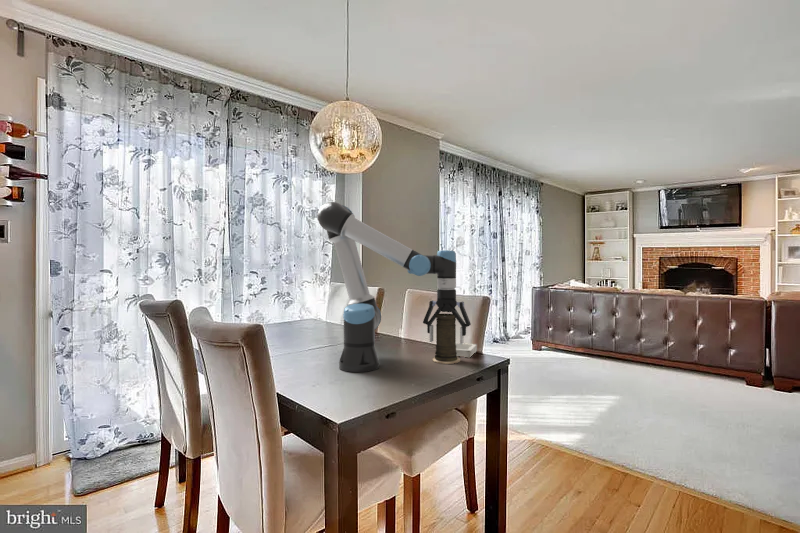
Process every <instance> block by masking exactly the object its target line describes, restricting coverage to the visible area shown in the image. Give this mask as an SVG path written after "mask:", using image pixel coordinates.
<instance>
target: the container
mask: <svg viewBox="0 0 800 533" xmlns="http://www.w3.org/2000/svg"><path fill="white" fill-rule="evenodd" d="M435 320H436V325H435V326H436V329H435V330H436V331H435V333H436V337H435V338H436V340H435V342H436V344H435V352H434V353H435V355H434V357H435V359H436V360H438V361H445V362H450V361H456V360H457V358H458V357H457V356H456V355H457V352H456V343H457V338H456V336H457V335H456V333H457V330H456V326H457V325H456V320H457V319H456V317H455V316H454V314H452V313H439V314H438V315H436V319H435Z"/></svg>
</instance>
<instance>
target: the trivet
mask: <svg viewBox="0 0 800 533" xmlns="http://www.w3.org/2000/svg"><path fill="white" fill-rule="evenodd" d="M432 361H433V362H434V363H437V364H440V363H441V364H440V365H455V364H458V362H459V363H460V362H461V358H460V357H457V360H456V361H450V362H445V361H438V360H436V359H435V356H434V357H432ZM454 363H455V364H454Z"/></svg>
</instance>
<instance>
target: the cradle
mask: <svg viewBox="0 0 800 533" xmlns="http://www.w3.org/2000/svg"><path fill="white" fill-rule="evenodd" d="M477 351H478V343H466V342H465V343H464V342H463V344H460V342H456V352H457V355H456V356H464V357H463V358H465V357H471V356H472V355H473V354H474V353H475V354H476V353H477ZM475 354H474V355H475ZM472 357H473V356H472ZM472 357H471V358H472Z"/></svg>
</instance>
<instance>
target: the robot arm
mask: <svg viewBox="0 0 800 533" xmlns="http://www.w3.org/2000/svg"><path fill="white" fill-rule="evenodd" d="M317 221H318V224H319V225H320V226H321V228H322V229H324V230H325V231H326V233H327V236H328V237H327V238H328V240H329V242H331V243H332V244H334V249H335V252H336V255H337V259H338V262H339V267H340V270H341V274H342V277H343V281H344V285H345V289H346V292H347V295H348V302H347V304H346V305H347V306H345V308H344V309H343V314H342V317H343V348H342V351H341V354H340V358H339V360H338V361H339V362H338V368H339V369H340V371H341V370H342V371H344V372H349V373H350V372H351V373H364V372H371V371H375V370H377V369H379V368H380V360H379V355H378V353H377V350H376V346H375V338H376V337H375V336H376V335H375V333H376V332H375V331H376V330H377V328H379V326H380V323H381V321H382V314H381V313H382V312H381V310H380V308H379V307H378V305H377V302H376V298H375V296H373V295H372V294H371V293H370V290H369V286H368V283H367V279H366V276H365V272H364V269H363V265H362V262H361V258H360V254H359V250H358V247H357V246H358V245H357V244H358V243H359V244H360V245H362V246H364V247H366V248H368V249H370V250H371V251H373V252H374V253H376V254H379V255H380V256H382V257H383V258H386V259H387V260H389V261H391V262H393V263H395V264H397V265H399V266H400V267H401V268H404V269H405V270H407V273H408V274H412V275H414V276H415V275H416V276H418V277H423V276H425V275H436V276H437V277H436V281H437V282H436V285H437V290H436V300H430V301H429V302H428V304H429V305H428V308H427V310H426V314H425V316H424V319H423V320H422V323H423V324H424V325H426V326H427V328H426V329H427V331H426V332H427V334H429V343H431V342H433V341H434V324H433V323H434V321H435V320H436V319H437V318H436V315H438V314H441V313H445V312H446V313H451V314H454V316H455V317H456V318H455V319H456V320H457V322H458V323H459V325H460V326H461V327H459V343H460V344H463V343H464V336H466V335H467V328H468V327H470V326H471V324H472V323H471V320H470V319H469V316H468V313H467V311H466V309H465V302H464V301H457V289H456V288H457V255H456V251H454V250H451V249H450V250H438V251H437V253H436V254H434V255H428V254H427V255H426V254H424V255H423V254H421V253H420V252H418V251H416V250H414V249H412V248H410V247H408V246H407V245H405V244H403V243H402V242H400V241H398V240H396V239H394V238H392V237H390V236H388V235H387V234H385V233H383V232H381V231H379V230H377V229H376V228H374V227H372V226H371V225H368V224H366V223H365V222H363V221H361V220H358V219H357V218H356V216H355V214H354V213H353V211H352V210H351V209H350V208H349V207H347V206H345V205H343V204H341V203H339V202H337V201H328V202H326V203H323V204H322V206H321V207H320V208H319V210H318V212H317ZM456 306H458V307H457V308H459V309H460V313H461V315H462V317H463V318H462V317H461V315H460V314H459V312H458V311H457V309H456ZM434 307H437V309H436V311H434V314H433V315H432V312H433V310H434ZM431 315H432V316H431Z"/></svg>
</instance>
